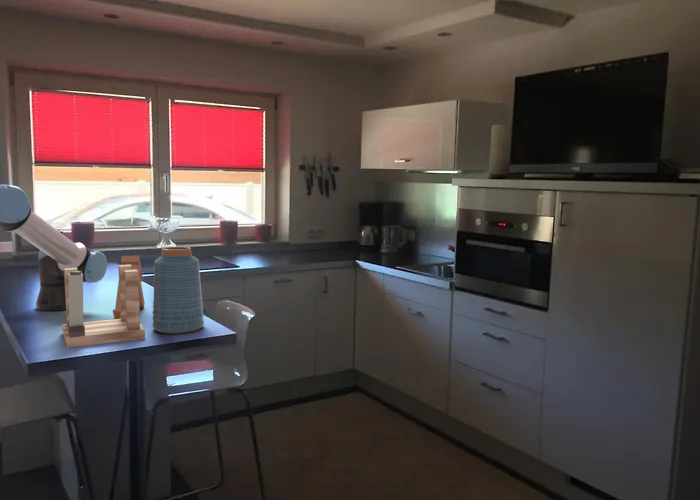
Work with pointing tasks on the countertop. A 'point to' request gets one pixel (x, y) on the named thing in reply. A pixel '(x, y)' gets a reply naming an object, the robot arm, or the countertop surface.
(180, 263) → the vase
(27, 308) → the countertop surface
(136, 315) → the wooden rack
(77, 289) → the stool leg
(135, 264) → the tan wooden piece
